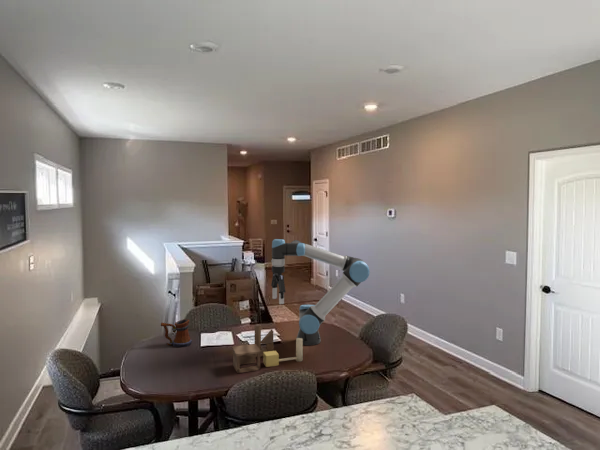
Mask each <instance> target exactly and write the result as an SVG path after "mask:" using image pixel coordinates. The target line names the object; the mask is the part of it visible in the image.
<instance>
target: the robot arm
mask: <svg viewBox="0 0 600 450" xmlns="http://www.w3.org/2000/svg"><path fill="white" fill-rule="evenodd" d="M285 256H286V257H289V256H290V257H292V256H293V257H301V256H302V257H307V258H309V259H311V260H315V261H318V262H321V263H324V264H327V265H330V266H333V267H336V268H338V269H340V271H343V272H342V277H341V278H339V280H337V281H336V283H335V284H334V285H333V286H332V287H331V288H330V289H329V290H328V291H327V292H326V293H325V294H324V296H322V297H321V299H319V301H317V303H316V304H301V305H300V306H299V309H298V310H299V317H298V318H299V319H298V327H299V328H298V332H297V336H296V339H297V338H302V339H303V346H315V345H319V344H320V343H321V335H320V332H319V328H320V326H321V324H323V323H324V322H325V321H326V316H327V314H329V313H330V312H331V311H332V310H333V308H334V307H336V306H337V304H338V303H339V302H340V301H342V300H343V298H344V297H345V296H346V295H347V294H348V293H349V292H350V291H351V290H352V289H353V288H354V287H355V288H357V287H358V286H359V285H360V284H361V283H364V282H365V281H366V280H367V279H369V276H370V273H371V272H370V267H369V265H368V264H367V263H366V262H365V261H364V260H363V259H361V258H357V257H354V256H349V255H340V254H338V253H335V252H332V251H329V250H325V249H324V248H320V247H317V246H314V245H310V244H309V243H303V242H301V241H299V240H298V239H297V240H296V239H295V240H292V241H291V242H286V241H285V239H279V238H274V239H273V240H272V241H271V260H270V262H271V272H272V279H271V285H270V286H271V288H272V293H271V294H272V296H271V297H272V300H275V299H278V304H279V305H284V304H285V293H286V292H287V291H286V286H285V285H286V284H285V276H284V275H282V274H283V273H285V267H286V266H285V265H286V263H285V262H286V259H285ZM278 291H279V292H278ZM278 296H279V297H278Z"/></svg>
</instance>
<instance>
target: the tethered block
mask: <svg viewBox="0 0 600 450" xmlns="http://www.w3.org/2000/svg"><path fill="white" fill-rule="evenodd" d="M303 347H304V345H303V339H302V338H297V337H296V339H295V356H292V357H285V358H279V357H280V355H279V353H278V352H277V350H273V351H268V352H263V356H262V362H263V363H262V364H264V366H265V368H269V367H276V366H279V365H280V362H285V361H292V360H295V361H296V362H303V349H304V348H303Z"/></svg>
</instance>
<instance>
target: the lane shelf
mask: <svg viewBox="0 0 600 450" xmlns="http://www.w3.org/2000/svg"><path fill="white" fill-rule="evenodd" d="M231 349H232V366H233V368H234V370H235V371H236V373H237V374H239V373H240V374H241V373H248V372H256V371H260V370H261V357H260V353H261V350H260V349H259V348H258V346H257V345H256V344H255V343H251V344H243V345H234V346H231ZM255 354H257V357H255ZM256 360H257V361H256ZM256 362H257V364H256V365H252V366H245V367H241V365H242V366H243V365H248V364H255V363H256Z"/></svg>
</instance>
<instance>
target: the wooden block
mask: <svg viewBox="0 0 600 450" xmlns="http://www.w3.org/2000/svg"><path fill="white" fill-rule="evenodd" d="M254 344H256V345H257V346H258V348H259V349H260V350H261V353H260V358H261V357H262V358H263V352H268V351H274V330H273V329H270V330H269V331H268V332H267V333H266V334H265V336H264V337H263V338H262V325H261V324H260V323H259V324H258V323H257V324H254ZM262 345H265V348H263V347H262ZM255 358H257V354H255Z"/></svg>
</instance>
